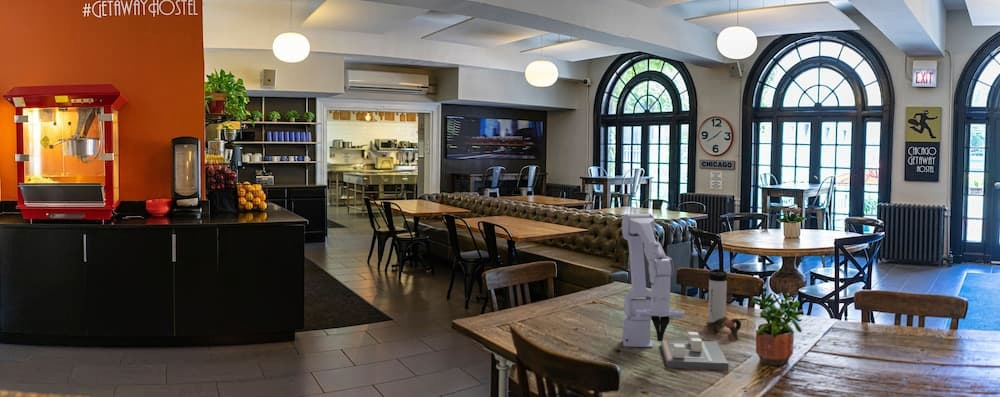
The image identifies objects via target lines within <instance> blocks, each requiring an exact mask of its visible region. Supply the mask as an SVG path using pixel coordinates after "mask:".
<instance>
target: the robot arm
mask: <svg viewBox="0 0 1000 397" xmlns="http://www.w3.org/2000/svg"><path fill="white" fill-rule="evenodd" d="M655 221H656V220H655V217H654V215H653V214H652V213H632V214H631V213H629V214H628V213H625V214H624V215H623V217H622V221H621V231H622V237H623V239H624V240H626V241H627V244H628V254H629V265H630V266H629V268H630V280H631V289H630V290H629V291H627V292H626V294H625V295H624V298H623V301H624V303H623V312H624V315H625V317H623V318H622V320H623V321H622V333H621V340H622V345H623V347H634V348H635V347H637V348H638V347H639V348H653V344H652V343H653V342H652V339H651V326H652V324H651V323H653V325H654V326H653V327H654V329H655V332H656V338H657V342H661V341H662V340H664V335H665V332H666V329H667V328H668V326H669V324H670V319H671V318H673V319H683V320H685V319H686V317H685V316H686V314H685V311H684V310H675V309H671V278H672V277H673V275H674V272H675V265H674V262H673V259H672V257H669V256H668V255H667V254H666V253H665V251H664V248H663V247H662V244H661V243H660V242H659V241H657V240H656V237H655V234H654V229H655V227H656V222H655ZM644 255H645V256H644ZM645 258H646V260H647V263H648V274H649V282H650V283H651V284H650V286H651V287H650V290H649V289H648V288H647V282H646V280H647V279H646V266H645Z"/></svg>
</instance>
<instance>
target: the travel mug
mask: <svg viewBox="0 0 1000 397" xmlns="http://www.w3.org/2000/svg"><path fill="white" fill-rule="evenodd" d="M727 276H728V275H727V271H725V270H722V269H721V270H720V269H719V268H714V269H711V270H709V277H708V278H709V279H708V308H707V309H708V310H707V312H708V313H707V315H708V319H707V323H708V324H709V323H711V322H715V321H716V320H718V319H720V318H722V317H727V291H728V290H727V285H728V284H727V283H728V281H727V280H728V279H727V278H728V277H727ZM722 326H725V324H724V323H722Z"/></svg>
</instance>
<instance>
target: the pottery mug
mask: <svg viewBox="0 0 1000 397" xmlns="http://www.w3.org/2000/svg"><path fill="white" fill-rule="evenodd" d="M722 323H724V324H725V325H724V326H725V327H726V328H728V329H729V330H730V332H731V333H729V334H727V335H726V336H727V338H728V340H729V342H732V341H734V340H737V339H738V338H739V336H738V332H739V330H740V329H741V326H742V322H741V321H740V319H738V318H732V319H729V318H728V317H727V316H726V317H722V318H720V319H718V320H716V321H715V322H711V323H708V324H707V327H708V329H707V330H708V331H707V332H712V333H713V334H715V335H716V334H717V333H718V332H719V330H722V329H723V325H722Z"/></svg>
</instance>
